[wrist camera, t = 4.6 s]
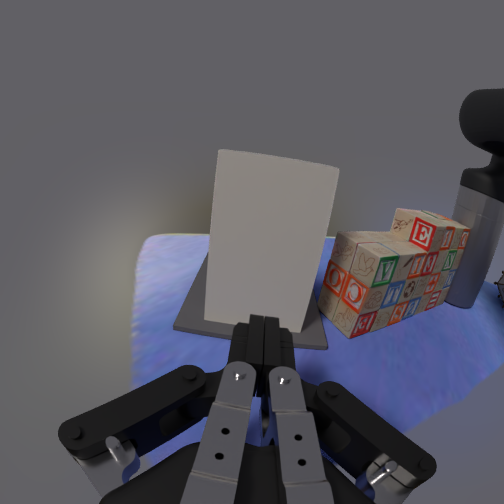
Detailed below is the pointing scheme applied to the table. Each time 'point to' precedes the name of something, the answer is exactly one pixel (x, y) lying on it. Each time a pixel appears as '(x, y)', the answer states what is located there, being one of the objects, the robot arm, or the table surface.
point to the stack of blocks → (391, 271)
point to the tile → (266, 236)
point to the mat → (194, 323)
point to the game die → (501, 287)
